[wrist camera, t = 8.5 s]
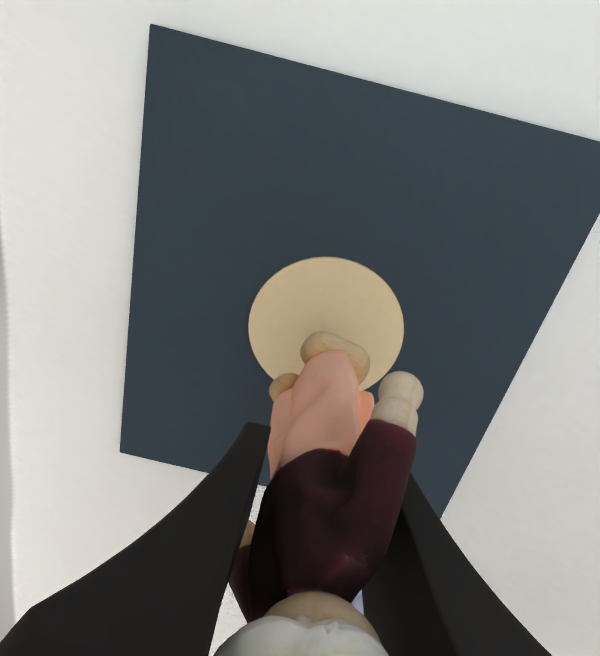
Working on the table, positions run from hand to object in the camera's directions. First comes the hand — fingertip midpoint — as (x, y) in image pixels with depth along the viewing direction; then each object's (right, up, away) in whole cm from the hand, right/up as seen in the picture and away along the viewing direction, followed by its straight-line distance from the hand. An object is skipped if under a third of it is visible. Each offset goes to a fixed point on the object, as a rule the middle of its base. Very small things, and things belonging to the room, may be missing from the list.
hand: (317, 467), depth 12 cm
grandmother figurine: (+1, +2, +5) cm, 6 cm away
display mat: (+1, +4, +8) cm, 9 cm away
